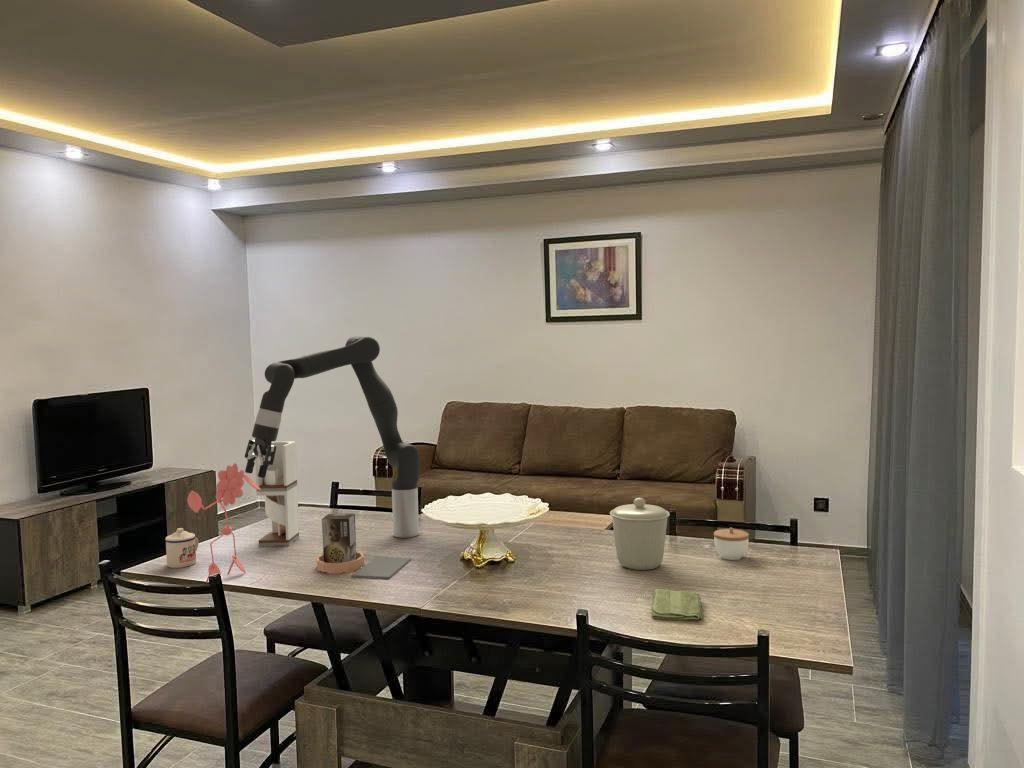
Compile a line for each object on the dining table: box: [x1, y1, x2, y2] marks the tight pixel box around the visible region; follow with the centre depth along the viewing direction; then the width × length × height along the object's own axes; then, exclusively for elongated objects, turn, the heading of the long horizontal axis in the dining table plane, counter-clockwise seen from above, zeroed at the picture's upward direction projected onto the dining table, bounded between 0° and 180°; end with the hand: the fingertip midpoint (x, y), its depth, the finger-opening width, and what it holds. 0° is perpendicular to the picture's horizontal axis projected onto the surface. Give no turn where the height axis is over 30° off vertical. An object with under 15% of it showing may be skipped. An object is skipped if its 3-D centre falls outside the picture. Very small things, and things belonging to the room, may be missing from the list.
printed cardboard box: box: [321, 513, 357, 563], centre depth 243 cm, size 9×6×16 cm
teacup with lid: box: [164, 527, 199, 569], centre depth 250 cm, size 12×9×12 cm
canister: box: [609, 497, 670, 571], centre depth 238 cm, size 18×18×21 cm
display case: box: [254, 441, 300, 547], centre depth 274 cm, size 11×11×35 cm
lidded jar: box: [713, 527, 750, 561], centre depth 245 cm, size 11×11×9 cm
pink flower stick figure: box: [187, 462, 265, 588], centre depth 230 cm, size 15×26×35 cm, turn 158°
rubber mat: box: [350, 556, 412, 580], centre depth 241 cm, size 20×12×1 cm, turn 168°
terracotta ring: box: [315, 550, 365, 574], centre depth 244 cm, size 14×14×3 cm
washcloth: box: [650, 588, 704, 621], centre depth 200 cm, size 13×18×3 cm
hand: (254, 475), depth 243 cm, fingers open, 8 cm apart
